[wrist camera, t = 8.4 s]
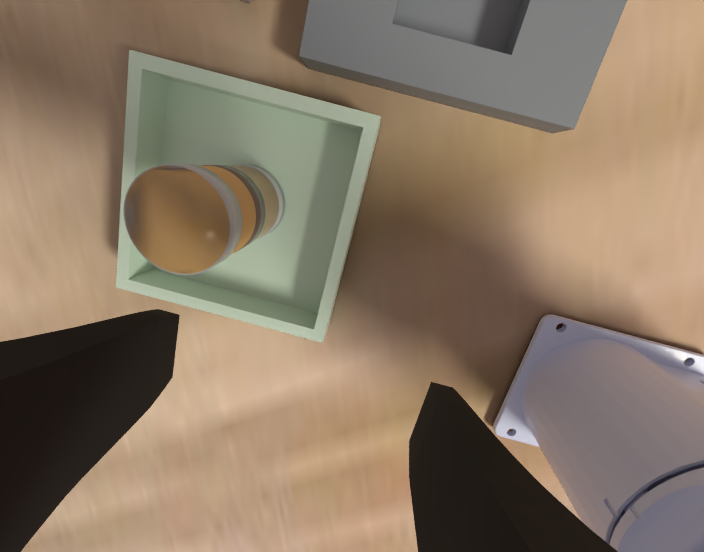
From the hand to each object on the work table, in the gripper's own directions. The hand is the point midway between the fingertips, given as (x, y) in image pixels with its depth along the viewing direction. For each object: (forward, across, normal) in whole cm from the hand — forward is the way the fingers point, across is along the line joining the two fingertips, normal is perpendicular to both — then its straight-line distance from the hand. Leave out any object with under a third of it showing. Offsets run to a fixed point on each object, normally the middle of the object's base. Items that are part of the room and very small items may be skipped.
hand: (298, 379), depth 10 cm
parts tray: (+10, +5, -2) cm, 12 cm away
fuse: (+10, +5, -3) cm, 12 cm away
